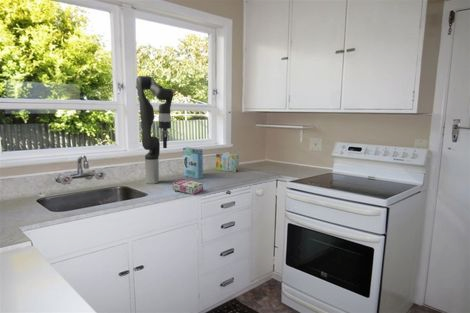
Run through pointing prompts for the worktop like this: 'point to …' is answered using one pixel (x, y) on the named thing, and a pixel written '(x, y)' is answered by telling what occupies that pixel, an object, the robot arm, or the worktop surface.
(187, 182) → the candy bar box
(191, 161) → the gum box
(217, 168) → the snack box
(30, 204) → the worktop surface
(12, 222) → the worktop surface
